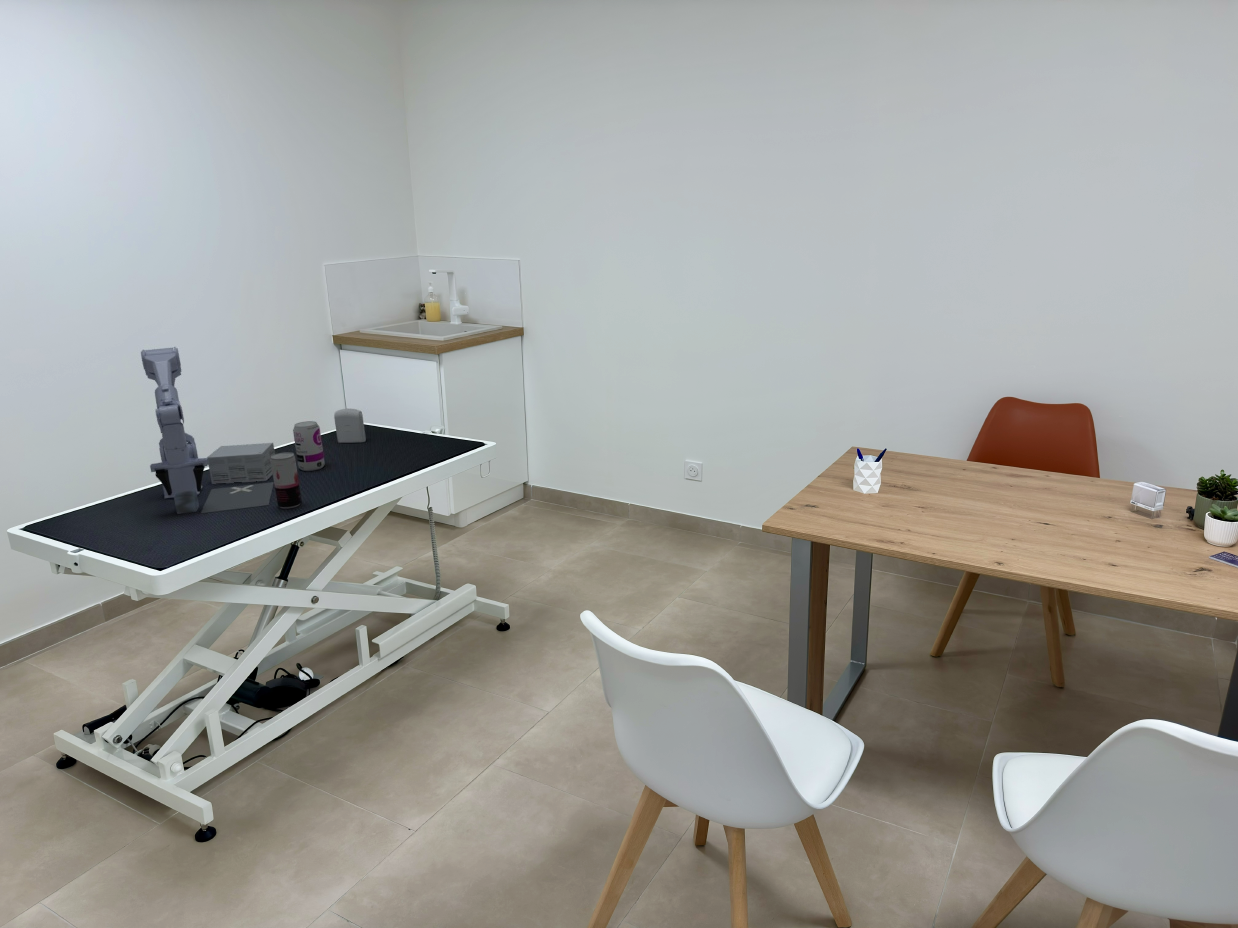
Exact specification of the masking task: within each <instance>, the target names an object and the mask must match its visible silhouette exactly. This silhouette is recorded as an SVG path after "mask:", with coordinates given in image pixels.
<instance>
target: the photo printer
mask: <svg viewBox="0 0 1238 928" xmlns="http://www.w3.org/2000/svg"><path fill="white" fill-rule="evenodd" d="M333 419H334V425H335V432H336V438H337V442H338V443H342V444H343V443H345V444H346V443H365V442H366V439H367V437H366V432H365V425H364V424H365V422H364V417H363V413H362V411H361V410H359V409H357V408H356V409H355V408H342V409H338V410H336V411H334V415H333Z"/></svg>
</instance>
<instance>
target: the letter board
mask: <svg viewBox="0 0 1238 928" xmlns="http://www.w3.org/2000/svg"><path fill="white" fill-rule="evenodd" d="M274 486H275V485H274V481H272V482H271V481H270V482H263V483H262V482H261V483H255V484H254V483H253V484H246V485H238V486H236V485H235V486H230V487H229V486H228V487H220V488H219V487H218V488H213V489H212V488H211V489H210V492H209V494H208V496H207V498H206V501H205V502H204V505H203V507H202V510H201V512H200V514H201V515H202V514H207V513H209V514H210V513H217V512H227V511H233V510H234V511H235V510H242V509H250V508H251V509H252V508H259V507H265V506H266V507H268V506H269V505H270V500H271V498H272V492H273V489H274Z"/></svg>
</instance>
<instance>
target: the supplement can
mask: <svg viewBox="0 0 1238 928" xmlns="http://www.w3.org/2000/svg"><path fill="white" fill-rule="evenodd" d="M292 432H293V433H292V434H293V439H294V447H295V452H296V460H297V468H298V469H300V470H301V471H303V472H304V471H305V472H313V471H318V470H320V469H322V468H323V467H324V466H325V464H326V463H325V455H324V449H323V448H324V447H323V442H322V434H321V428H320V425H319V424H318V422H317V421H313V420H312V421H300V422H297V423H294V426H293V429H292Z"/></svg>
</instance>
